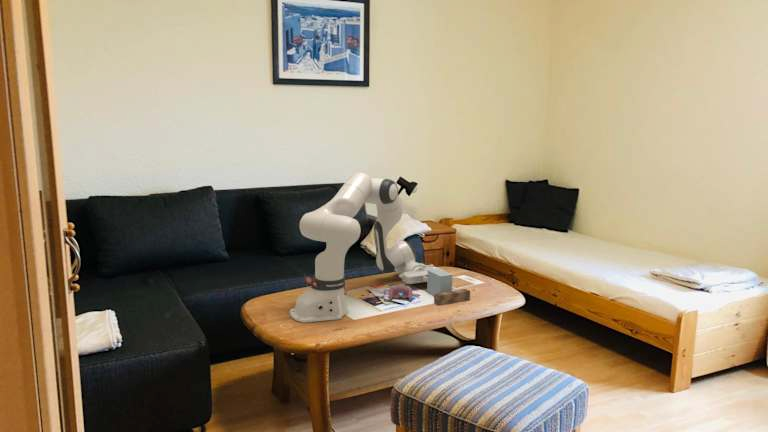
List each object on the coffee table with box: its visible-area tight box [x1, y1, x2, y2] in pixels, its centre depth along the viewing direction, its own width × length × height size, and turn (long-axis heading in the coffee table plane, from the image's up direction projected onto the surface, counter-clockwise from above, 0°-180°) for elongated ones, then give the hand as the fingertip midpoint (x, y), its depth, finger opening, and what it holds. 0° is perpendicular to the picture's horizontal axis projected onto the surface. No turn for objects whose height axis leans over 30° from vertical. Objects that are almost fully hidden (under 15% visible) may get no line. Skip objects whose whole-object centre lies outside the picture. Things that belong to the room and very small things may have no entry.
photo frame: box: [452, 274, 486, 291], centre depth 265 cm, size 15×1×18 cm
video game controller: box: [388, 284, 413, 302], centre depth 241 cm, size 10×5×7 cm, turn 84°
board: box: [433, 288, 471, 306], centre depth 239 cm, size 16×3×4 cm, turn 118°
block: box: [426, 268, 453, 297], centre depth 246 cm, size 6×10×10 cm, turn 29°
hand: (432, 280), depth 251 cm, fingers closed, pressing on block
